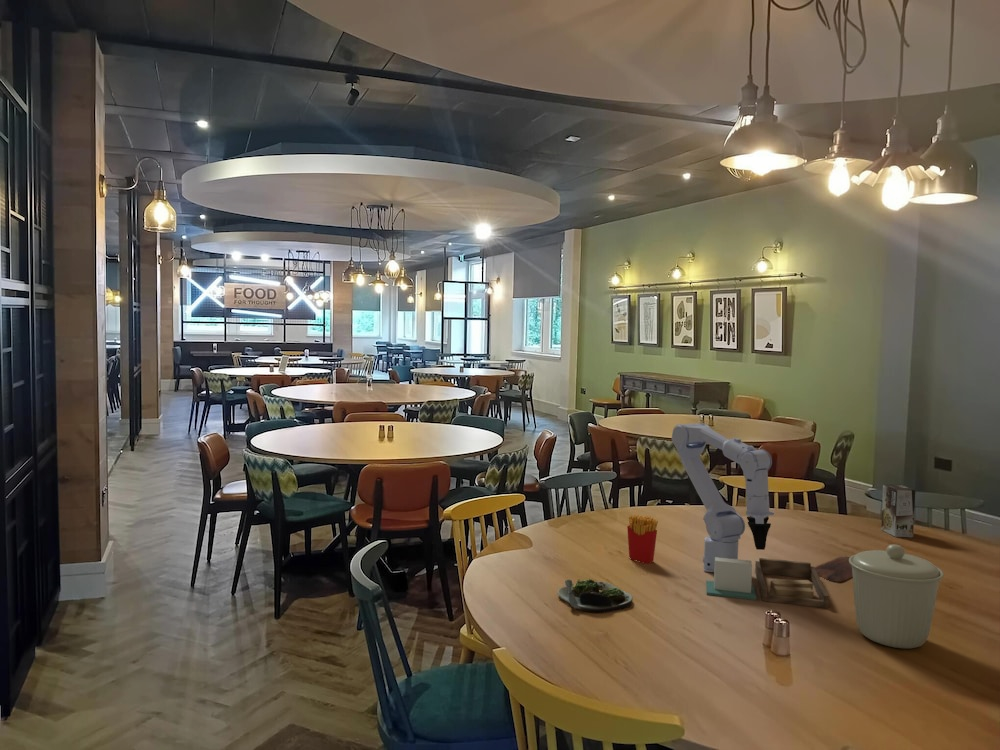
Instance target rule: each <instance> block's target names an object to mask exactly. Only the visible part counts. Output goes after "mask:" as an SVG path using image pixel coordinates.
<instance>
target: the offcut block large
mask: <svg viewBox="0 0 1000 750" xmlns="http://www.w3.org/2000/svg"><path fill="white" fill-rule="evenodd" d="M774 586H783V587H801V588H811V589H812V590H813V587H814V585H813V583H812V581H811V580H808V579H800V580H799V579H782V580H781V579H778V580H773V579H772V580H770V586H769V587H770V589H769V593H770V594H771V595H773V588H774ZM813 591H814V590H813Z"/></svg>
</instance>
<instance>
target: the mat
mask: <svg viewBox="0 0 1000 750" xmlns="http://www.w3.org/2000/svg"><path fill="white" fill-rule="evenodd" d="M705 583H706V584H705V586H706V587H705V589H706V595H707V596H716V597H723V598H724V597H725V598H732V599H733V598H735V599H741V600H750V601H751V600H752V601H757V595H756V594H757V593H756V590H755V587H754V586H755V585H752V584H751V593H746V592H737V591H728V590H718V589H714V580H706V581H705Z"/></svg>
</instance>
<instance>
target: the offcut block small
mask: <svg viewBox="0 0 1000 750" xmlns="http://www.w3.org/2000/svg"><path fill="white" fill-rule="evenodd" d="M814 594H815V593H814V590H812V589H811V588H801V587H783V586H774V588H773V595H780V596H789V597H799V598H808V599H814Z"/></svg>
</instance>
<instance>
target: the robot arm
mask: <svg viewBox="0 0 1000 750" xmlns="http://www.w3.org/2000/svg"><path fill="white" fill-rule="evenodd" d="M671 441H672V443H673V446H675V449H676V451H677V452H678V458H679V460H680V462H681V464H682V467H683V468H684V471H686V473H687V475H688V477H689V479H690V481H691V483H692V485H693V487H694V489H695V490H696V493H697V494H698V496H699V498H700V499H701V502H702V504H703V505H704V508H705V510H706V512H705V514H704V515H703V518H702V519H703V522H704V524H705V528H706V532H707V534H708V536H705V537H704V547H703V548H704V551H703V552H704V553H703V556H702V564H703V572H706V573H714V570H715V557H718V558H729V559H739V540H740V539H741V536H742V535H743V534H744V533H745V530H746V522H745V520H744V518H743V517H742V516H741V515H740V514H739V513H738V512H737V510H736V509H735V508H734V507H733V506H731V505H729V504H728V503H726V502H725V501H724V499H723V497H722V495H721V494H720V491H719V490H718V488H717V486H716V484H715V483H714V480H713V479H712V477H711V475H710V473H709V471H708V470H707V467H706V466H705V465H704V462H703V461H702V459H701V454H703V453H704V451H705V447H706V445H707V444H708V445H710V446H713V447H715V448H716V449H719V450H721V451H722V455H723V456H724V457H726V458H728V459H729V460H731V461H733V462H734V463H736V464H738V465H739V467H740V468H741V469H742V470H741V471H742V472H743V477H744V479H745V481H744V482H745V499H746V511H745V514H746V519H747V525H748V527H749V529H750V531H751V533H752V534H751V535H752V538H753V541H754V547H755V549H756V550H758V551H759V550H761V551H762V550H764V551H765V549H766V546H767V537H768V535H769V534H768V533H769V530H770V528H771V526H772V523H770V522H768V521H769V518H770V516H775V511H772V510H770V499H769V498H770V497H769V476H768V475H769V473H768V472H769V470H770V469H771V467H772V465H773V460H772V459H773V458H772V455H771V454H770V453H769V452H768V451H767V450H766V449H763V448H760V449H756V448H755V447H754V446H753V445H748V444H746V443H744V442H742V439H741V438H739V437H735V438H730V439H728V438H726V437H725V436H723V435H722V434H720V433H719V432H717V431H715V430H714V429H712V428H711V426H710V425H707V424H705V423H703V422H697V423H686V424H685V423H684V424H682V423H681V424H679V423H678V424H675V426H674V427H673V429H672V434H671Z"/></svg>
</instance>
